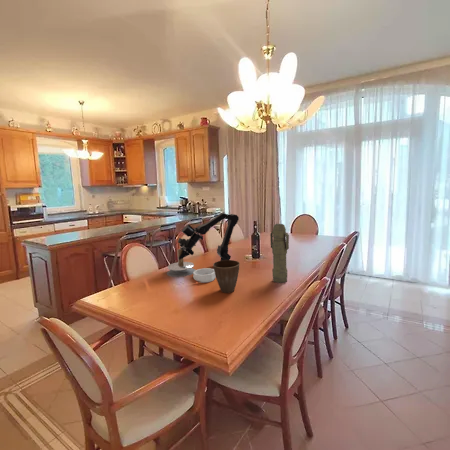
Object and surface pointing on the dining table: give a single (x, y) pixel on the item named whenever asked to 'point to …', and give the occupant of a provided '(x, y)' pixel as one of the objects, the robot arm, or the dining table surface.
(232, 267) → the plant pot
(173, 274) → the mat
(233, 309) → the dining table surface
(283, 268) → the stone statue
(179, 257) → the robot arm
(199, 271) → the bowl
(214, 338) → the dining table surface
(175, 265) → the lid
